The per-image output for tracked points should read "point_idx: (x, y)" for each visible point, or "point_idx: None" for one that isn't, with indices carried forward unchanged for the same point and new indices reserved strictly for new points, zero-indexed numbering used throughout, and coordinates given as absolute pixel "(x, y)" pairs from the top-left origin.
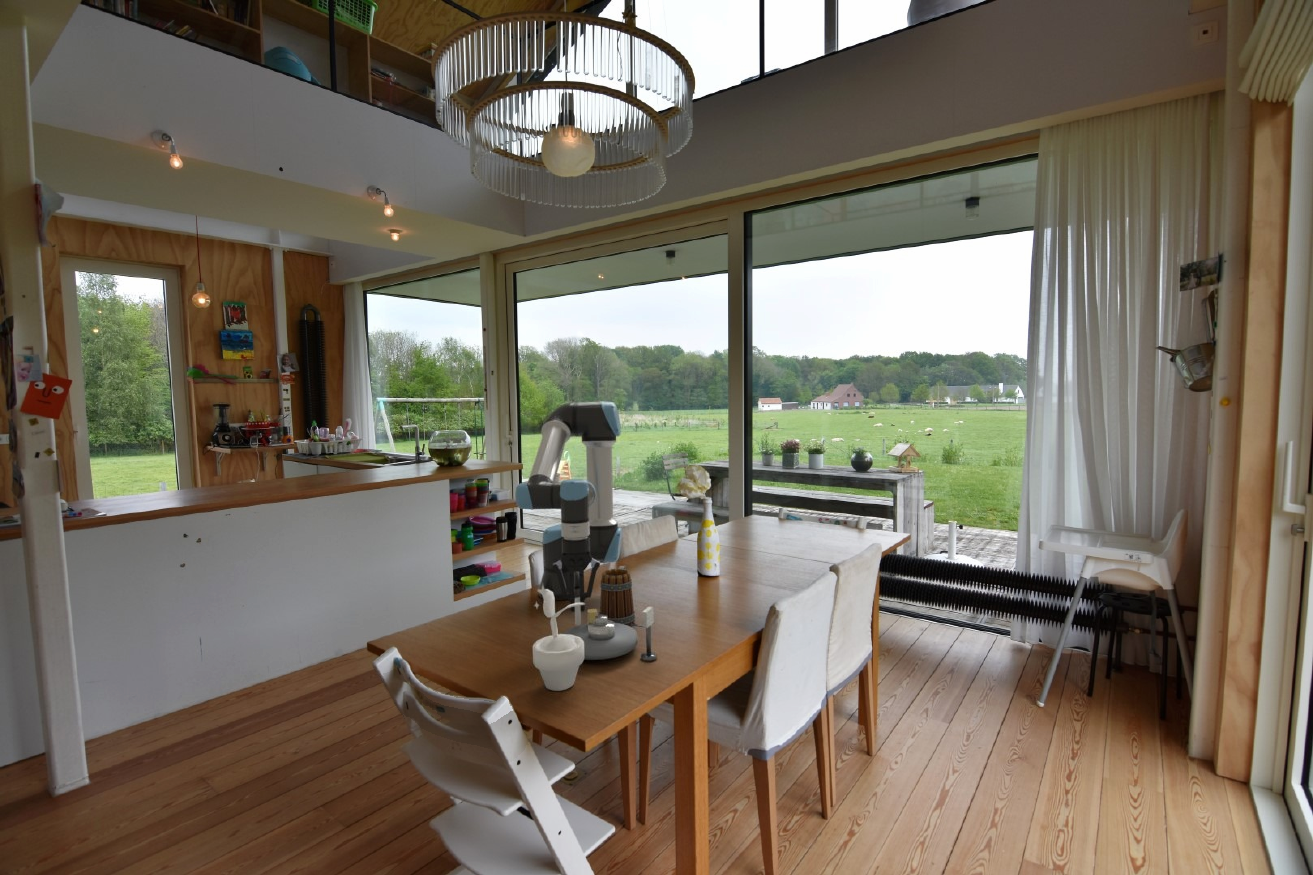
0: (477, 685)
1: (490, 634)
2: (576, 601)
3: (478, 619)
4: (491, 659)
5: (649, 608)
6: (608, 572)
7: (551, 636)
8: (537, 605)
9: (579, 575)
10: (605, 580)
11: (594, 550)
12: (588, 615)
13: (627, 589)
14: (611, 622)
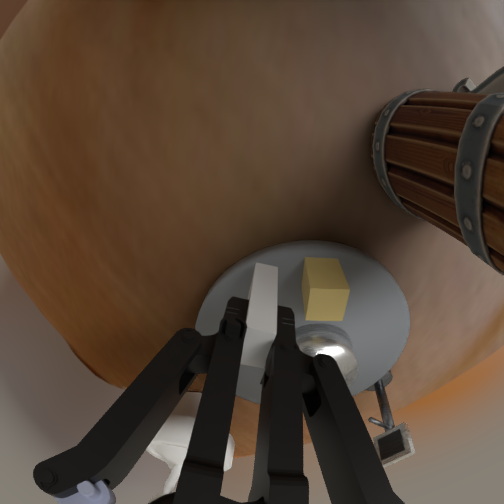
0: (83, 352)
1: (44, 127)
2: (246, 363)
3: (35, 28)
4: (69, 276)
5: (403, 457)
6: None
7: (170, 456)
8: None
9: (252, 490)
10: (495, 237)
11: None
12: (305, 299)
13: None
14: (349, 373)
